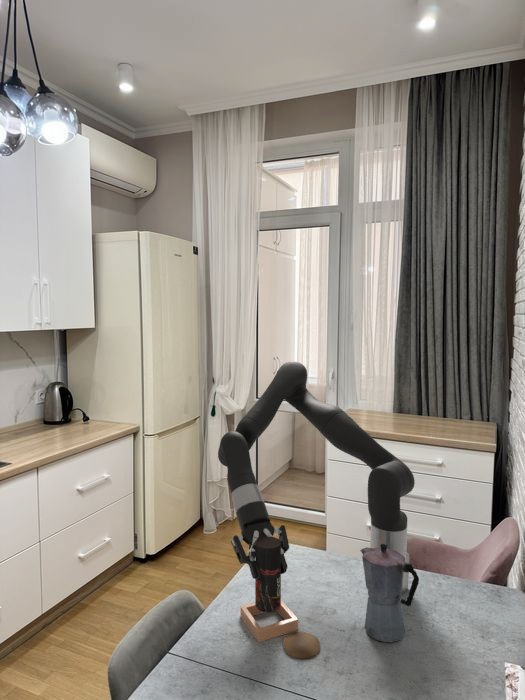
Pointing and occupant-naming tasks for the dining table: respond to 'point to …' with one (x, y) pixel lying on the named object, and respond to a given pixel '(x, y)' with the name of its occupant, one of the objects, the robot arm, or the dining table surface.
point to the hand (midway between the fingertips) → (271, 575)
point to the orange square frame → (270, 630)
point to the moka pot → (386, 592)
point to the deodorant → (268, 574)
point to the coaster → (301, 645)
